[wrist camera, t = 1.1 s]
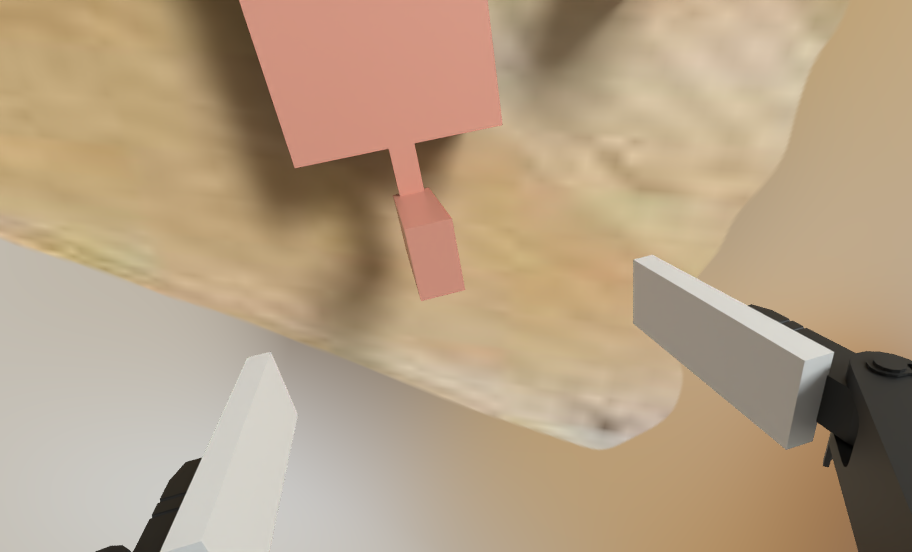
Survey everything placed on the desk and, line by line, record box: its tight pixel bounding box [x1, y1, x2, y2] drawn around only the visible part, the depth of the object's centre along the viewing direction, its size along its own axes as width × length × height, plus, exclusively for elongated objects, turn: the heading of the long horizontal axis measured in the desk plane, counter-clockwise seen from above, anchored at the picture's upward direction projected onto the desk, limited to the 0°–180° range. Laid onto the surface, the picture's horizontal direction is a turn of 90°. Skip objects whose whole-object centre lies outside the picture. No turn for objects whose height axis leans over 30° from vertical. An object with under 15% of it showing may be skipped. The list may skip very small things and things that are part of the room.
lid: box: [239, 0, 502, 301], centre depth 20 cm, size 26×13×8 cm, turn 10°
